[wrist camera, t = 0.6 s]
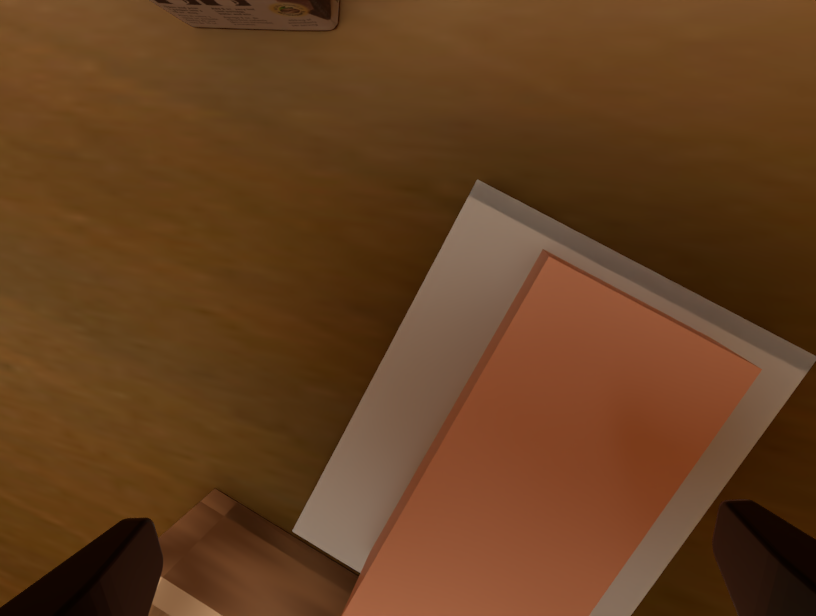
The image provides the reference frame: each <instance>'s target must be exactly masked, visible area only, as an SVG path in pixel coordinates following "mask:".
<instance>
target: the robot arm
mask: <svg viewBox="0 0 816 616" xmlns="http://www.w3.org/2000/svg"><path fill="white" fill-rule="evenodd" d="M712 546H713V552H714V556H715V558H716V561H717V563H718V566H719V569H720V571H721V574H722V576H723V579H724V581H725V584H726V586H727V589H728V591H729V594H730V596H731V599H732V601H733V604H734V606H735V609H736V611H737V614H738V616H816V540H815V539H814V538H812V537H811V536H809V535H807V534H806V533H804V532H803V531H801V530H799V529H798V528H796V527H794V526H793V525H791V524H790V523H788V522H786V521H785V520H783V519H781V518H780V517H778V516H777V515H775V514H773V513H772V512H770V511H768V510H767V509H765V508H764V507H762V506H760V505H759V504H757V503H755V502H753V501H751V500H747V499H738V500H725V501H722V502H721V504H720V505H719V508H718V513H717V519H716V524H715V529H714V534H713V541H712ZM162 570H163V553H162V550H161V547H160V543H159V540H158V536H157V533H156V529H155V526H154V523H153V522H152V520H151V519H149V518H127V519H123V520H122V521H120V522H118V523H117V524H116V525H114V526H113V527H111V528H110V529H109V530H107V531H106V532H105V533H103V534H102V535H100V536H99V537H98V538H96V539H95V540H93V541H92V542H91V543H89V544H88V545H86V546H85V547H84V548H82V549H81V550H80V551H78V552H77V553H75V554H74V555H73V556H71V557H70V558H68V559H67V560H66V561H64V562H63V563H61V564H60V565H59V566H57V567H56V568H55V569H53V570H52V571H50V572H49V573H48V574H46V575H45V576H43V577H42V578H41V579H39V580H38V581H36V582H35V583H34V584H32V585H31V586H30V587H28V588H27V589H25V590H24V591H23V592H21V593H20V594H18V595H17V596H16V597H14V598H13V599H12V600H10V601H9V602H7V603H6V604H5V605H3V606H2V607H0V616H148V615H149V612H150V609H151V606H152V602H153V599H154V596H155V593H156V590H157V586H158V583H159V580H160V577H161V574H162Z"/></svg>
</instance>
